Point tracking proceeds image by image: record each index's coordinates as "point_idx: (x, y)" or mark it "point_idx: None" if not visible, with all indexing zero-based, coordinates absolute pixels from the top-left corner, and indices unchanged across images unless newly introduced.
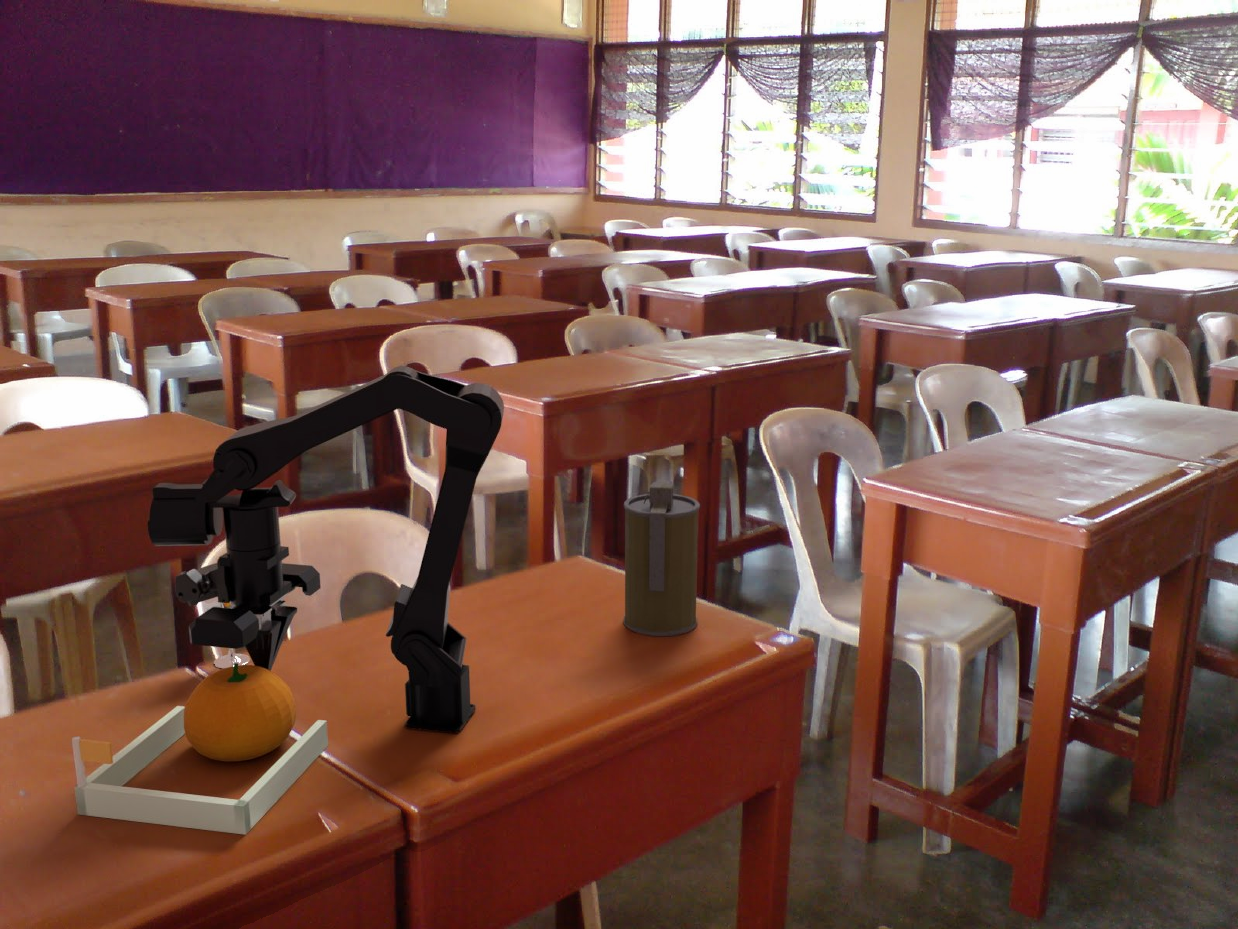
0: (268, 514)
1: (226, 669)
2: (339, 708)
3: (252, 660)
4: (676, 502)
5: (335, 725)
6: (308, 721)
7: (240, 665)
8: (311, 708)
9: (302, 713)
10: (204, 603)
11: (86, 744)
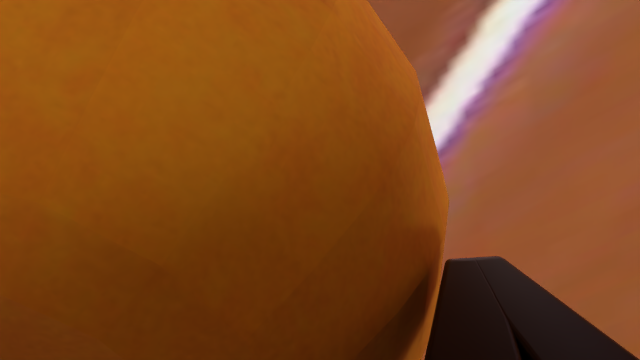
0: None
1: (10, 317)
2: (597, 306)
3: (427, 355)
4: None
5: None
6: (461, 256)
7: (228, 348)
8: (589, 209)
9: (533, 199)
10: None
11: None
